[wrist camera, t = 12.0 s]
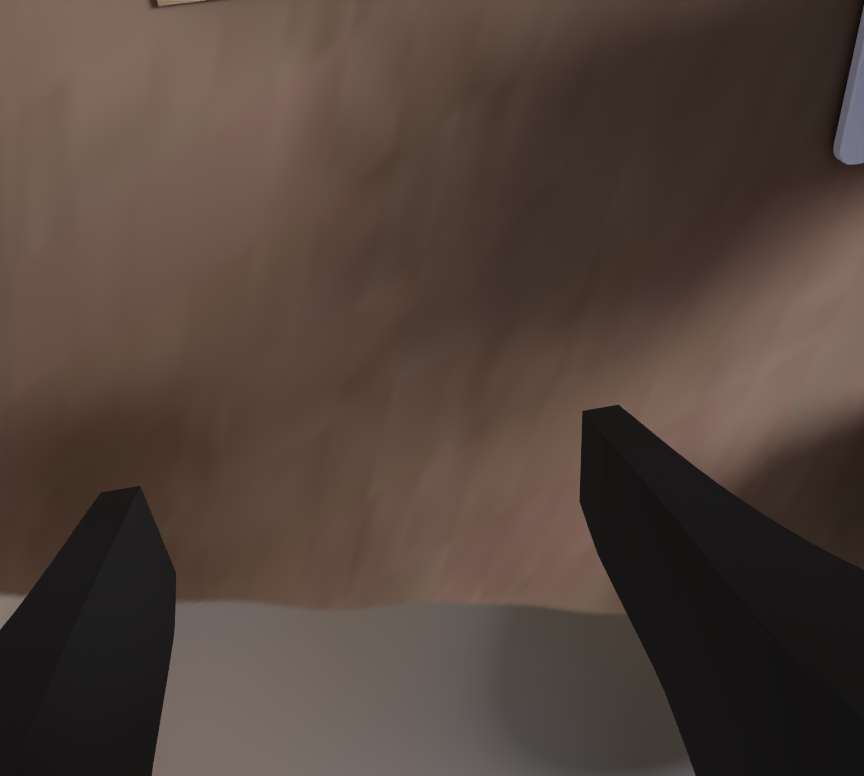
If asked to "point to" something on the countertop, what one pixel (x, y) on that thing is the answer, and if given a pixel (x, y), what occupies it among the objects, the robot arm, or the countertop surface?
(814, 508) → the countertop surface
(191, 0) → the board
